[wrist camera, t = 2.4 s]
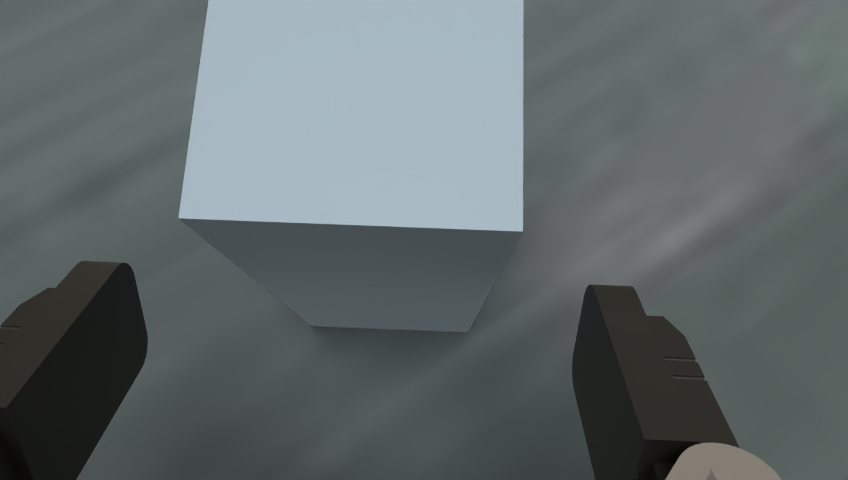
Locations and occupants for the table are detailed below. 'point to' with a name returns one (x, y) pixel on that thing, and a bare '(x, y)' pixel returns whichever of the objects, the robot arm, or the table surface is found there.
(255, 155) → the slate pillar
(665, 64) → the table surface
